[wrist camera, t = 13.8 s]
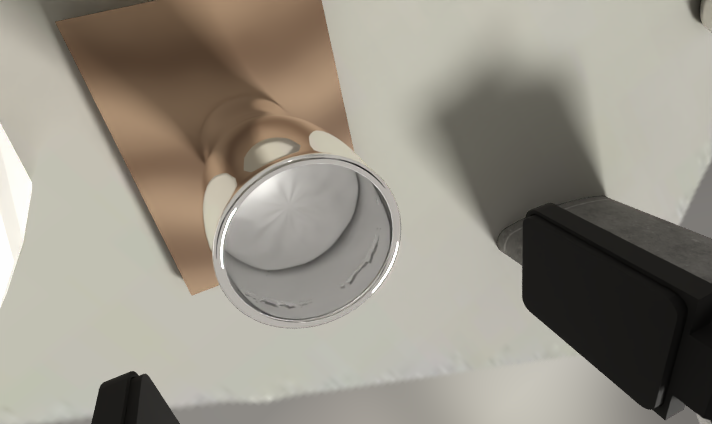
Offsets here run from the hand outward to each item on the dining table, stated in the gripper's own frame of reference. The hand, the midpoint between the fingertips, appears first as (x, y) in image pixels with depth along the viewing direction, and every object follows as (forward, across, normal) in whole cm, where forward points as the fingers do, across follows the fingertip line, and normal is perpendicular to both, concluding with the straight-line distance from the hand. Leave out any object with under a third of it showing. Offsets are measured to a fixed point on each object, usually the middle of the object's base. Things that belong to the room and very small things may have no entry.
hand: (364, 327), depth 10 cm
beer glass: (+20, 0, +1) cm, 20 cm away
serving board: (+21, 0, +1) cm, 21 cm away
